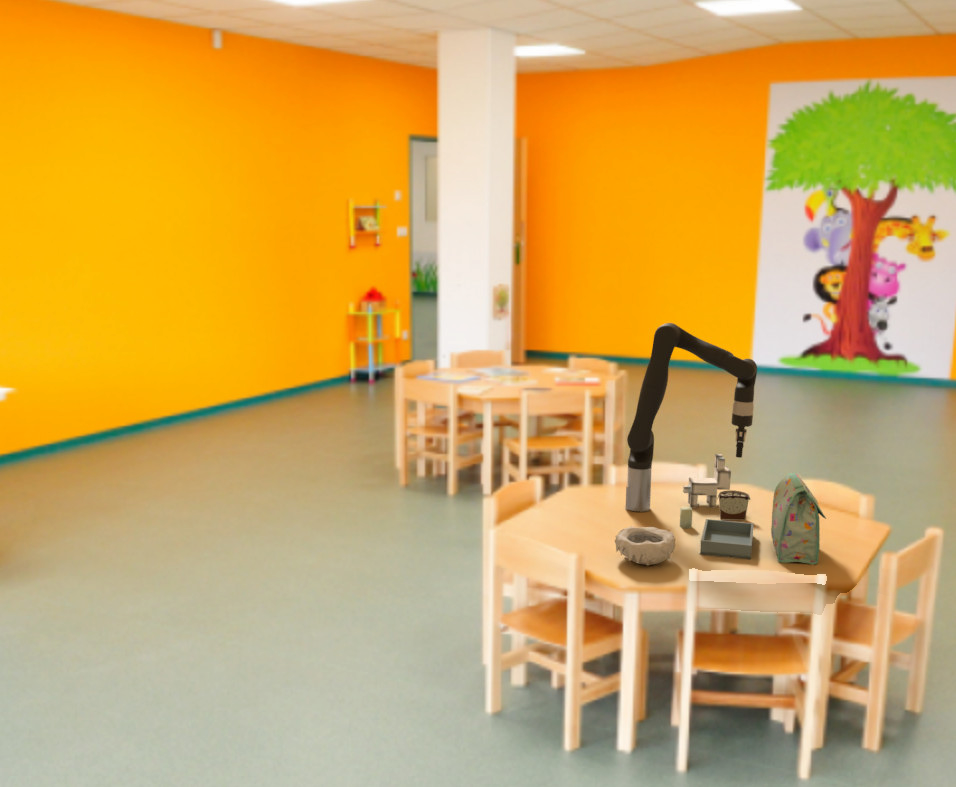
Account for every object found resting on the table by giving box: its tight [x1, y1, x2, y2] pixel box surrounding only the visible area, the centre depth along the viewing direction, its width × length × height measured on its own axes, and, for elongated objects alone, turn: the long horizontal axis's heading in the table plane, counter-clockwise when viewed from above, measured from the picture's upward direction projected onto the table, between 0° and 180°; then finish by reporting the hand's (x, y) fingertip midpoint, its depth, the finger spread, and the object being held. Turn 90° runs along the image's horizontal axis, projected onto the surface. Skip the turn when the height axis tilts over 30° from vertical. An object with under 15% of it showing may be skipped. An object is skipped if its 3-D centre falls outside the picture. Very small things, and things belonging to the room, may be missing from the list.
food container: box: [717, 490, 751, 521], centre depth 386 cm, size 12×6×10 cm, turn 84°
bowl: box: [614, 526, 676, 567], centre depth 341 cm, size 21×20×10 cm
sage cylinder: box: [679, 506, 693, 529], centre depth 376 cm, size 4×4×7 cm
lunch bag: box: [770, 472, 827, 566], centre depth 347 cm, size 23×16×27 cm
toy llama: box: [682, 453, 732, 508], centre depth 400 cm, size 8×18×20 cm, turn 88°
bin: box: [699, 518, 754, 560], centre depth 356 cm, size 17×24×5 cm
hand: (739, 454), depth 377 cm, fingers open, 8 cm apart
